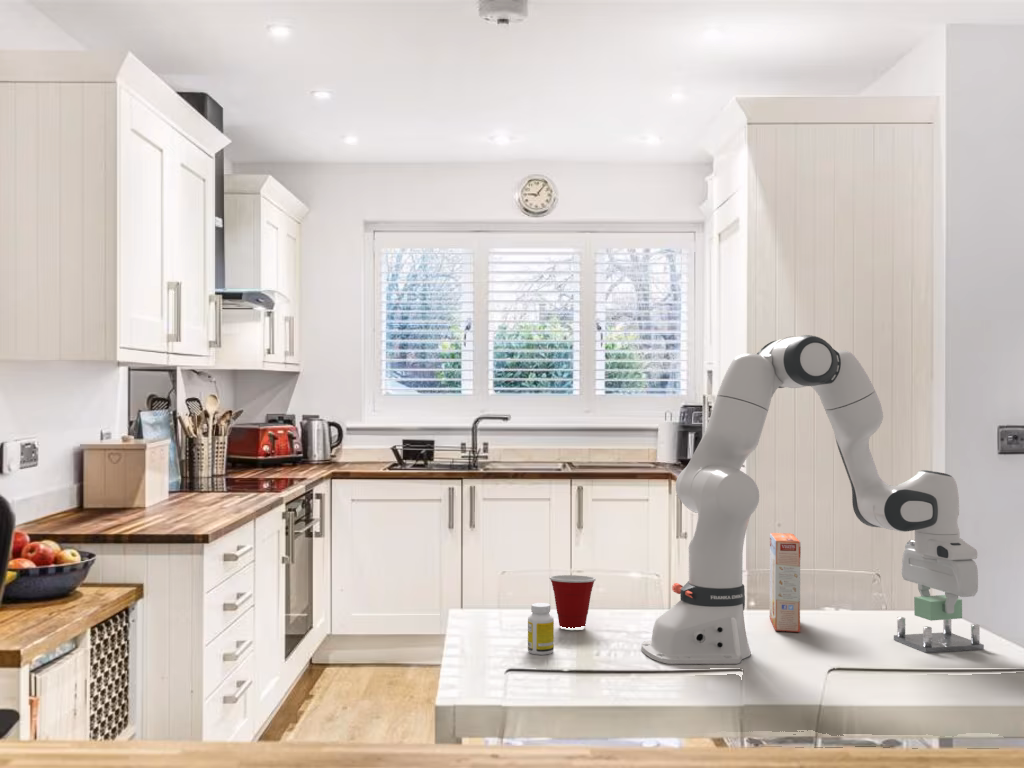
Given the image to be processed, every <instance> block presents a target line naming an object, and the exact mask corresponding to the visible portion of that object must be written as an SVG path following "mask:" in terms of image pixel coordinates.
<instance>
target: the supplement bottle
mask: <svg viewBox="0 0 1024 768" xmlns="http://www.w3.org/2000/svg"><path fill="white" fill-rule="evenodd" d="M530 607H531V613H532V614H530V615H528V618H527V651H528V653H529V654H532V655H537V656H539V655H540V656H545V655H550V654H552V653H553V652H554V645H555V641H554V639H555V637H554V636H555V635H554V634H555V631H554V627H555V626H554V625H555V624H554V622H555V621H554V616H553V615H552V614H550V612H551V604H550V603H548V602H535V603H532V604H531V606H530Z"/></svg>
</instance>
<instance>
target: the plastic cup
mask: <svg viewBox="0 0 1024 768" xmlns="http://www.w3.org/2000/svg"><path fill="white" fill-rule="evenodd" d="M548 579H549V580H550V582H551V587H552V590H553V594H554V595H553V596H554V601H555V607H556V614H557V619H558V620H557V621H558V625H559V627H560V626H562V627H566V628H568V627H570V628H572V627H573V628H575V627H581V626H585V627H586V625H585V624H587V617H588V614H589V608H590V602H591V596H592V591H593V587H594V585H595V584H594V583H595V581H596V579H597V578H596V577H593V576H589V575H576V574H575V575H574V574H571V575H569V574H568V575H567V574H566V575H565V574H563V575H551V576H549V577H548Z"/></svg>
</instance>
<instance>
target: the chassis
mask: <svg viewBox="0 0 1024 768" xmlns="http://www.w3.org/2000/svg"><path fill="white" fill-rule="evenodd" d="M942 621H943V623H942V625H943V632H932V631H933V630H932V627H931V626H925V625H924V626H922V627H923V629H922V631H923V633H913V634H912V633H911V634H907V633H906V617H903V616H898V617H897V620H896V623H897V625H896V626H897V627H896V628H897V629H896V630H897V631H896V632H897V633H896V634H894V635H893V641H896V642H898V643H901V644H903V645H905V646H909V647H910V648H913V649H915V650H917V651H920V652H923V653H926V654H932V653H945V652H949V653H950V652H962V651H978V650H979V651H981V650H984V649H985V645H984V644H983V643H981V640H980V639H981V638H980V636H981V635H980V632H981V631H980V624H977V623H971V624H970V637H971V638H970V639H969V638H967V637H964V636H961V635H958V634H956V633H952V619H946V620H942Z"/></svg>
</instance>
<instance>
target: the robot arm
mask: <svg viewBox="0 0 1024 768" xmlns="http://www.w3.org/2000/svg"><path fill="white" fill-rule="evenodd" d="M805 387H811V388H812V389H813V390H814V391H815V392H816V394H817V395H818V396H819V399H820V401H821V404H822V406H823V409H824V411H825V413H826V416H827V418H828V420H829V423H830V425H831V428H832V431H833V434H834V438H835V442H836V446H837V449H838V452H839V455H840V457H841V460H842V463H843V466H844V468H845V472H846V474H847V477H848V480H849V483H850V487H851V493H852V494H851V495H852V496H851V497H852V499H851V500H852V507H853V511H854V515H855V516H856V517H857V519H858V520H859V521H860V522H861V523H862V524H864V525H866V526H868V527H872V528H882V529H885V530H890V531H896V532H899V533H900V532H902V533H903V532H904V533H905V532H912V531H914V539H910V540H908V541H906V544H905V546H904V550H903V553H902V559H901V561H902V562H901V571H900V572H901V576H902V580H903V581H904V580H905V581H906V582H910V583H914V584H916V585H917V589H918V591H919V595H920V596H931V593H930V590H931V589H934V590H938V591H941V592H944V595H945V597H947V600H946V602H945V604H942V607H943V609H942V611H943V612H945V613H948V614H950V613H954V605H955V603H956V601H957V599H959V597H961V598H970V597H975V596H976V595H977V593H978V591H979V590H978V589H979V572H978V566H977V563H976V561H975V560H976V559H977V558H978V550H977V549H976V548H975V547H973V546H971V545H970V544H968V543H967V542H966V541H965V540H964V539H962V538H960V528H959V525H958V518H959V515H960V499H959V498H960V497H959V489H958V488H959V487H958V485H957V481H956V479H955V478H954V477H953V475H950V474H948V473H944V472H938V471H933V470H927V469H926V470H925V469H922V470H919V471H917V473H916V474H915V475H914V476H911V478H909V479H908V480H906V481H904V482H901V483H899V484H895V485H891V484H888V483H886V482H885V481H884V480H883V479H882V477H880V475H879V472H878V470H877V467H876V465H875V461H874V458H873V456H872V452H871V449H870V439H871V437H872V436H873V435H874V434H875V433H876V432H877V431H878V430H879V428H880V427H881V425H882V423H883V418H884V412H883V408H882V404H881V401H880V398H879V396H878V394H877V391H876V389H875V387H874V385H873V383H872V381H871V379H870V377H869V376H868V374H867V372H866V371H865V369H864V367H863V365H862V364H861V363H860V362H859V360H858V358H857V357H856V355H854V354H853V353H852V352H851V351H848V350H846V349H845V350H843V349H834V348H833V347H832V346H831V344H830V343H829V342H827V341H826V340H824V339H823V338H821V337H819V336H816V335H810V334H805V335H804V334H803V335H799V336H785V337H783V338H780V339H777V340H776V339H775V340H773V341H770V342H768V343H767V344H765V345H764V346H763V347H761V348H760V350H759V351H758V352H756V353H752V352H747V353H741V354H739V355H736V356H735V357H734V358H733V360H732V361H731V362H730V365H729V366H728V368H727V370H726V372H725V374H724V376H723V379H722V380H721V383H720V386H719V389H718V391H717V394H716V398H715V401H714V404H713V407H712V410H711V414H710V416H709V419H708V423H707V424H706V425H707V426H706V428H705V431H704V433H703V435H702V437H701V439H700V442H699V443H698V445H697V447H696V448H695V451H694V452H693V454H692V456H691V458H690V460H689V462H688V464H687V465H686V466H685V468H683V470H681V472H680V473H679V474H678V476H677V479H675V480H676V481H675V493H676V496H677V498H678V500H679V501H680V502H681V503H682V504H683V505H684V506H685V507H686V508H688V509H689V510H690V511H692V512H693V513H697V514H698V515H697V522H696V527H695V532H694V535H693V536H692V539H691V540H690V541H689V544H688V581H687V582H686V583H684V585H682V584H680V583H678V582H674V583H673V585H672V586H671V591H672V592H674V593H676V594H677V595H680V596H679V597H680V600H679V601H678V602H677V603H675V604H674V605H673V606H672V607H670V608H669V609H668V610H666V611H665V612H664V613H663V614H661V615H660V616H658V618H656V620H655V621H654V623H653V628H652V633H651V640H647V641H643V642H642V643H641V647H640V649H641V651H642V653H643V654H644V655H646V656H647V657H649V658H650V659H652V660H655V661H657V662H659V663H663V664H668V665H670V664H672V665H673V664H674V665H677V664H678V665H679V664H681V665H683V664H685V665H686V664H687V665H690V664H692V665H693V664H694V665H695V664H696V665H697V664H699V665H701V664H703V665H705V664H706V665H710V664H712V665H714V664H719V665H720V664H721V665H723V664H725V665H727V664H729V665H732V664H735V665H736V664H740V663H741V662H742V660H743V659H747V658H748V657H750V656H751V654H752V653H751V652H752V651H751V648H750V646H749V641H748V637H747V631H746V625H745V624H746V623H745V614H744V613H745V612H744V611H745V607H746V604H745V603H746V596H745V594H746V593H745V590H746V589H745V584H743V563H744V561H743V559H744V558H743V556H744V555H743V553H744V552H743V551H744V545H745V543H744V542H745V538H746V533H747V529H748V525H749V521H750V518H751V516H752V514H753V513H754V512H755V511H756V510H757V508H758V505H759V503H760V490H759V487H758V485H757V483H756V481H755V479H753V478H752V477H751V476H749V475H747V474H746V473H745V472H743V471H742V470H741V469H742V467H743V465H744V464H745V462H746V460H747V458H748V457H749V456H750V454H752V453H753V452H754V451H755V450H756V449H757V447H758V445H759V443H760V438H761V436H762V432H763V429H764V426H765V422H766V419H767V416H768V413H769V410H770V405H771V402H772V398H773V396H774V394H775V393H776V391H777V390H778V389H783V388H788V389H789V388H790V389H800V388H805Z"/></svg>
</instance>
